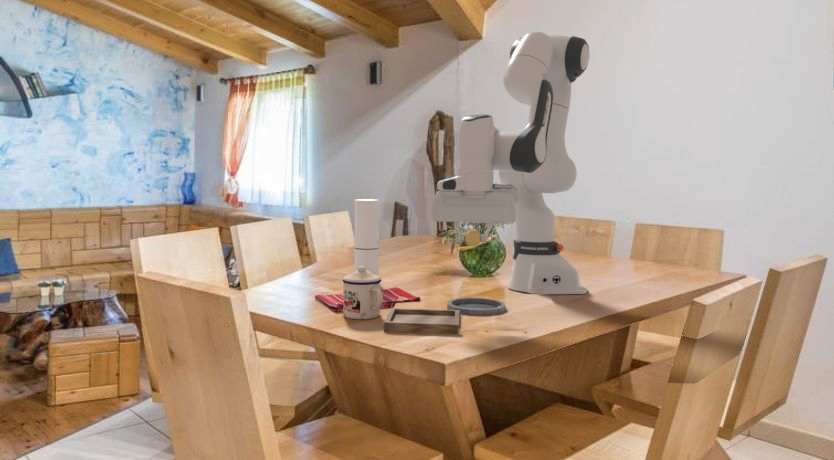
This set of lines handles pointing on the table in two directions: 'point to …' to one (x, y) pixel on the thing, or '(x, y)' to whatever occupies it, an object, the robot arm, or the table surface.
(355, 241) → the cylindrical container
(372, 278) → the teacup with lid
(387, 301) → the dish towel
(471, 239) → the ball
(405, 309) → the tray
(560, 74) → the robot arm
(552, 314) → the table surface
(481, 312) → the dish
